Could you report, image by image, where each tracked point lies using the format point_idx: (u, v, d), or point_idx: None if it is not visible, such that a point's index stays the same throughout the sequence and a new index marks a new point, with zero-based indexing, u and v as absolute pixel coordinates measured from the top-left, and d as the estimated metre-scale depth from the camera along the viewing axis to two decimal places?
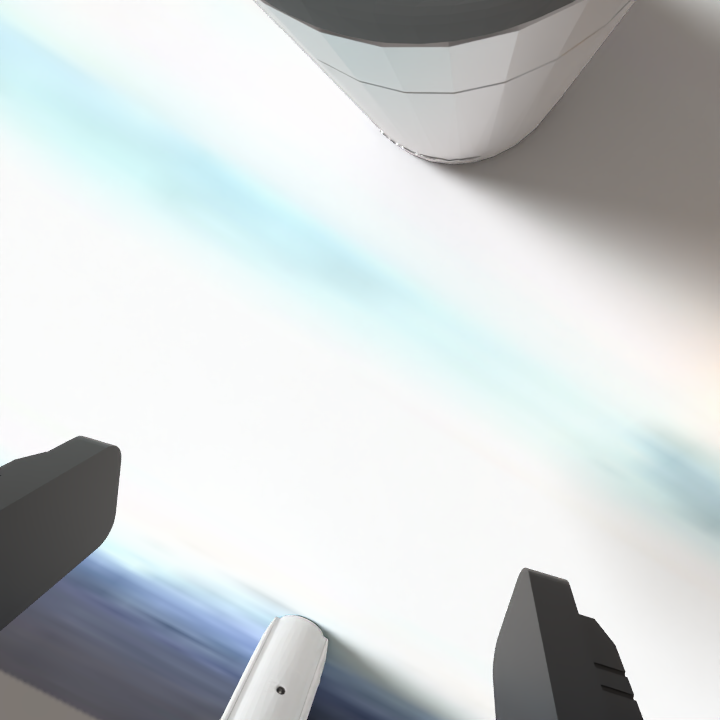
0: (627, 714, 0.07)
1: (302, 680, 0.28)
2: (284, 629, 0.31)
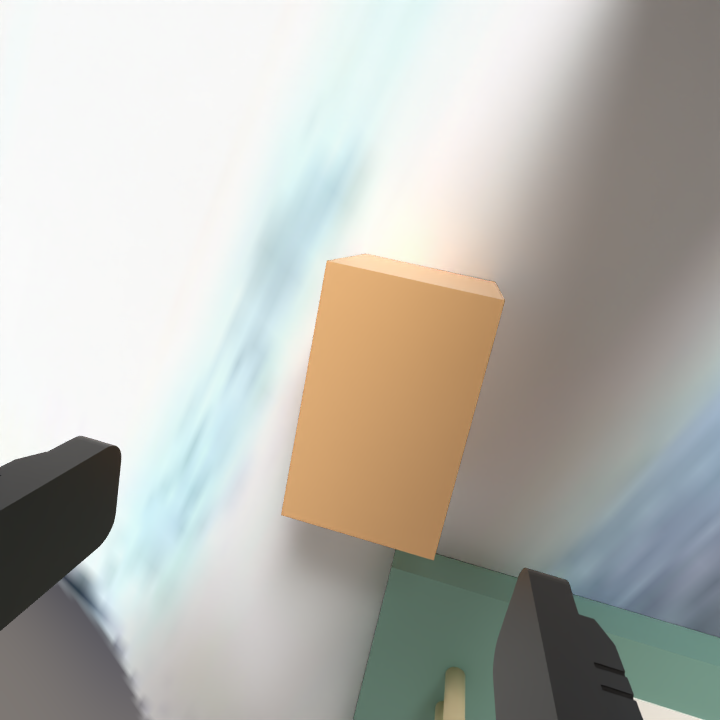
0: (627, 714, 0.07)
1: None
2: None
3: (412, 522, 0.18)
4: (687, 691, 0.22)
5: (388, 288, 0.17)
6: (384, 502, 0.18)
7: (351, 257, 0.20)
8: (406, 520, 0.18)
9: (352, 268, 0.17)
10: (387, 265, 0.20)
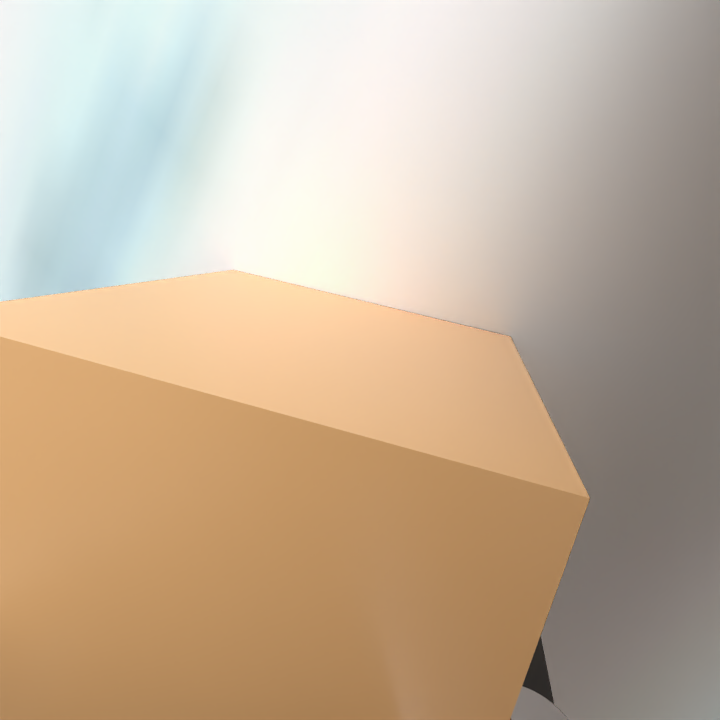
0: None
1: None
2: None
3: None
4: None
5: (136, 425, 0.04)
6: None
7: (141, 285, 0.07)
8: None
9: (5, 346, 0.04)
10: (232, 308, 0.07)
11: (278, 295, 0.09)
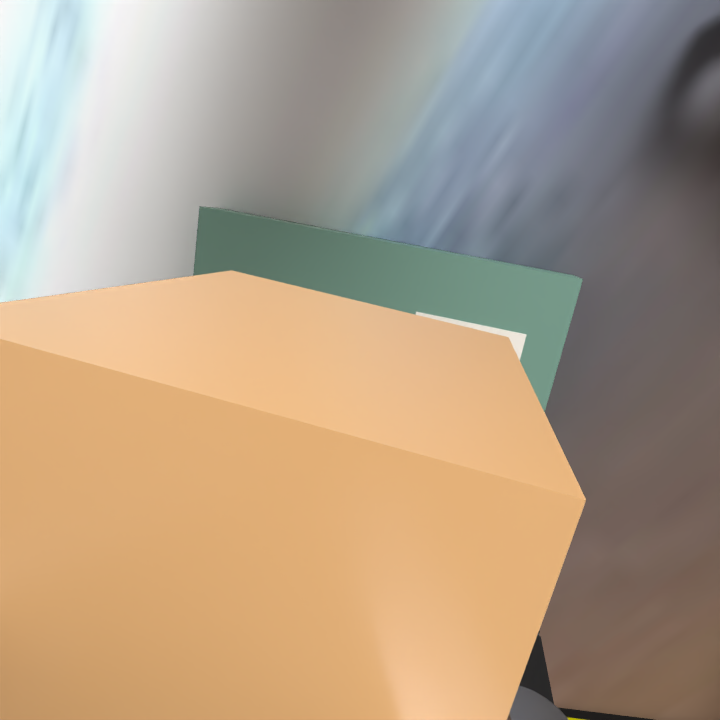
0: None
1: None
2: None
3: None
4: (480, 299, 0.23)
5: (134, 427, 0.04)
6: None
7: (139, 286, 0.07)
8: None
9: (4, 347, 0.04)
10: (230, 309, 0.07)
11: (276, 296, 0.09)
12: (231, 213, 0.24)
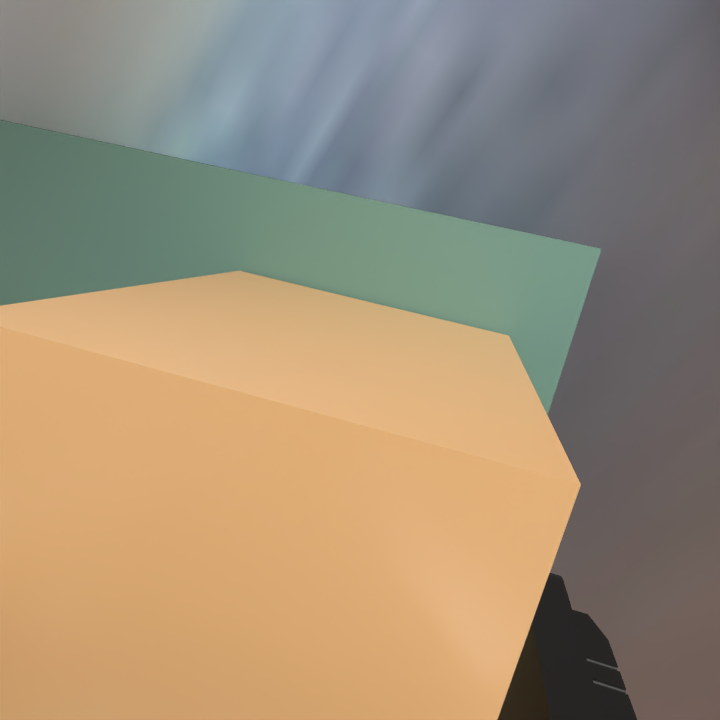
0: (619, 708, 0.07)
1: None
2: None
3: None
4: (380, 288, 0.11)
5: (156, 417, 0.05)
6: None
7: (154, 285, 0.08)
8: None
9: (35, 343, 0.05)
10: (241, 308, 0.08)
11: (284, 295, 0.09)
12: None
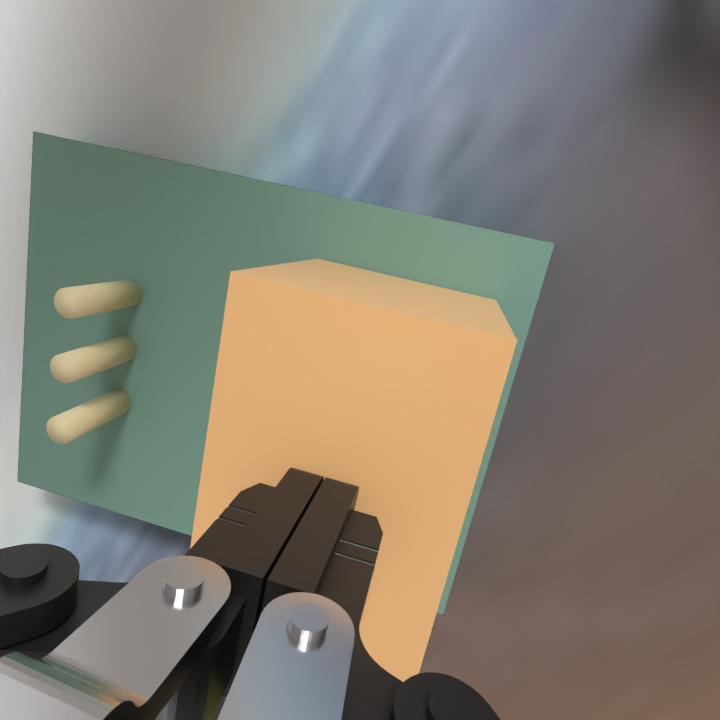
0: (359, 574, 0.09)
1: None
2: None
3: None
4: (411, 269, 0.16)
5: (329, 317, 0.10)
6: None
7: (286, 264, 0.13)
8: None
9: (272, 285, 0.10)
10: (339, 277, 0.13)
11: (354, 272, 0.15)
12: (75, 142, 0.17)
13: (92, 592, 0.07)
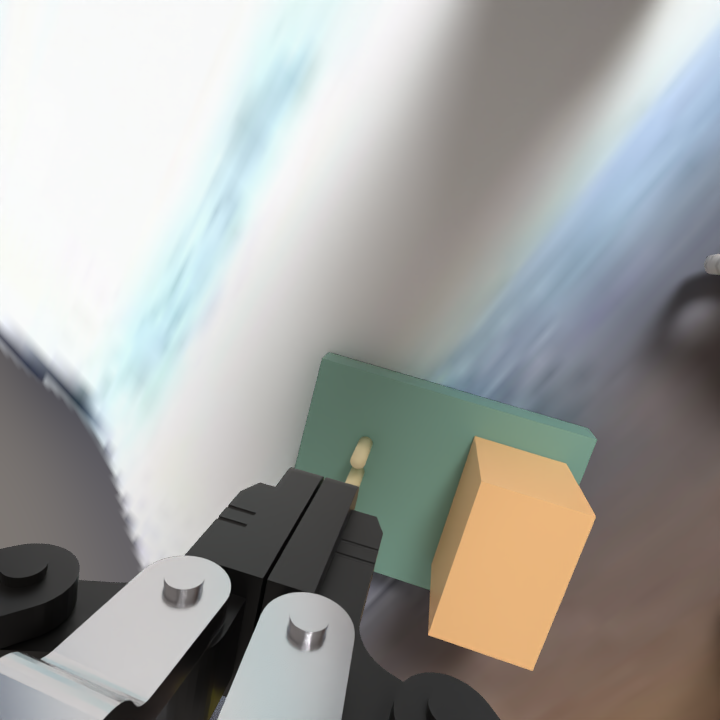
0: (359, 574, 0.09)
1: None
2: None
3: (520, 645, 0.27)
4: (523, 445, 0.32)
5: (520, 502, 0.26)
6: (502, 631, 0.27)
7: (479, 457, 0.29)
8: (516, 644, 0.27)
9: (498, 487, 0.26)
10: (504, 465, 0.29)
11: (502, 453, 0.31)
12: (346, 365, 0.33)
13: (92, 592, 0.07)
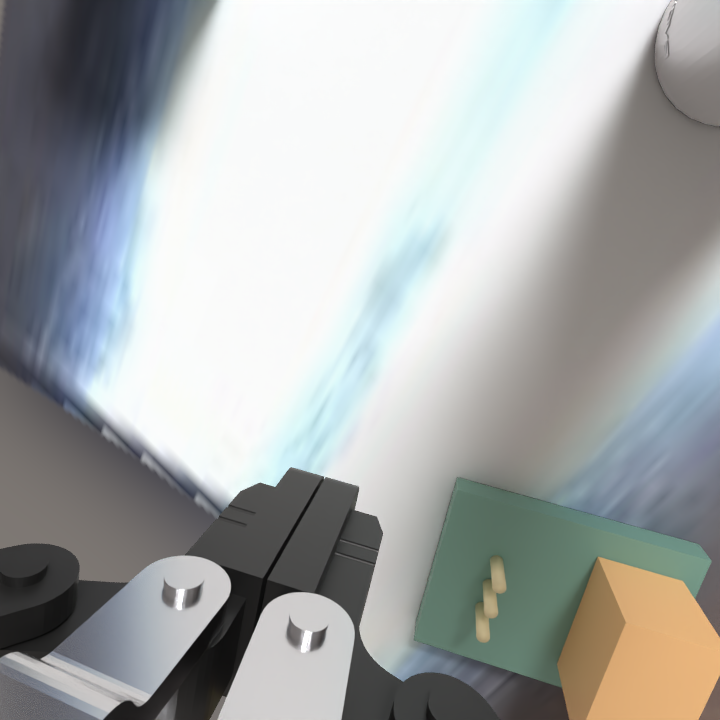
0: (359, 574, 0.09)
1: None
2: None
3: None
4: (643, 564, 0.36)
5: (661, 640, 0.30)
6: None
7: (612, 588, 0.33)
8: None
9: (641, 628, 0.30)
10: (635, 594, 0.33)
11: (627, 577, 0.35)
12: (479, 496, 0.37)
13: (92, 592, 0.07)
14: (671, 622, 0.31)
